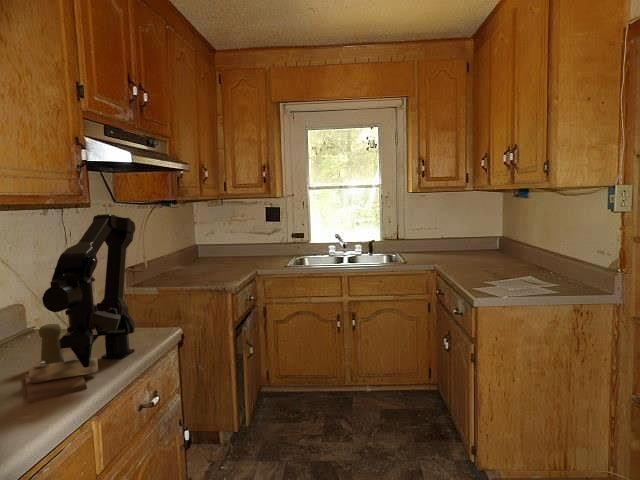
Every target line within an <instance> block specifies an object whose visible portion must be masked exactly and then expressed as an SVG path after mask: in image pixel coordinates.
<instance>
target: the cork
mask: <svg viewBox="0 0 640 480" xmlns="http://www.w3.org/2000/svg"><path fill="white" fill-rule="evenodd" d="M61 333H62V328H61V326H60V324H58V323H49V324H45V325H42V326H41V327H40V328H39V329H38V335H39V337H40V338H41V350H40V361H41V360H44V361H45V364H52V363H59V362H60V353H59V350H63V349H60V343H59V340H60V339H61V336H60V335H61Z"/></svg>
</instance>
